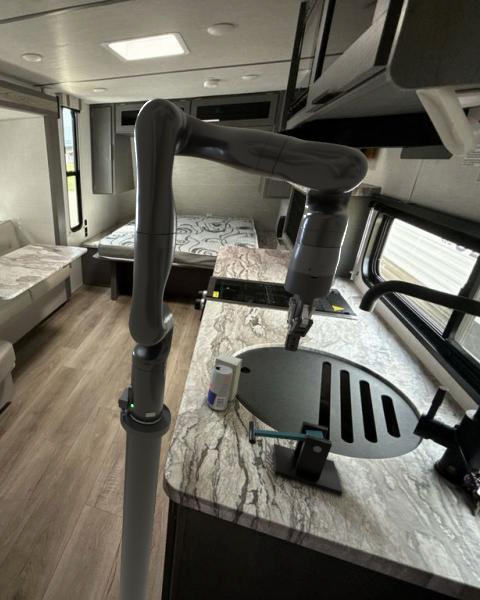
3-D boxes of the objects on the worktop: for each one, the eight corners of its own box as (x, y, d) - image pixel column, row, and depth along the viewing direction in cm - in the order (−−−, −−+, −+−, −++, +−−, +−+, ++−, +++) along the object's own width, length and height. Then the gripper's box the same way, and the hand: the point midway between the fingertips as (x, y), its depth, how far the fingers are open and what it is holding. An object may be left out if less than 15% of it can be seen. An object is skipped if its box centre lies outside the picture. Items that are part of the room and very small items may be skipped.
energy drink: (209, 396, 90) (214, 361, 86) (228, 402, 88) (235, 366, 83) (204, 406, 86) (210, 370, 82) (224, 413, 84) (231, 377, 79)
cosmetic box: (236, 394, 91) (243, 359, 86) (231, 402, 88) (238, 366, 83) (215, 385, 95) (221, 351, 90) (209, 392, 92) (215, 357, 87)
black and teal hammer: (249, 445, 68) (248, 437, 67) (249, 427, 73) (248, 418, 72) (325, 455, 62) (325, 445, 61) (320, 434, 67) (319, 424, 66)
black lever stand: (275, 474, 66) (286, 436, 62) (273, 447, 73) (283, 411, 69) (340, 496, 62) (357, 456, 58) (332, 465, 69) (346, 427, 65)
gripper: (285, 258, 64) (268, 332, 70) (292, 274, 53) (271, 361, 59) (327, 262, 61) (306, 338, 68) (344, 280, 50) (316, 370, 56)
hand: (290, 349), depth 63 cm, fingers closed
